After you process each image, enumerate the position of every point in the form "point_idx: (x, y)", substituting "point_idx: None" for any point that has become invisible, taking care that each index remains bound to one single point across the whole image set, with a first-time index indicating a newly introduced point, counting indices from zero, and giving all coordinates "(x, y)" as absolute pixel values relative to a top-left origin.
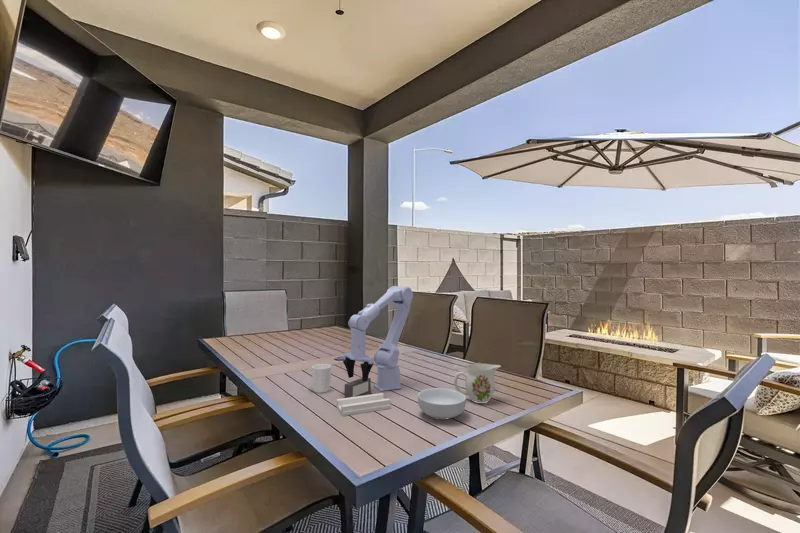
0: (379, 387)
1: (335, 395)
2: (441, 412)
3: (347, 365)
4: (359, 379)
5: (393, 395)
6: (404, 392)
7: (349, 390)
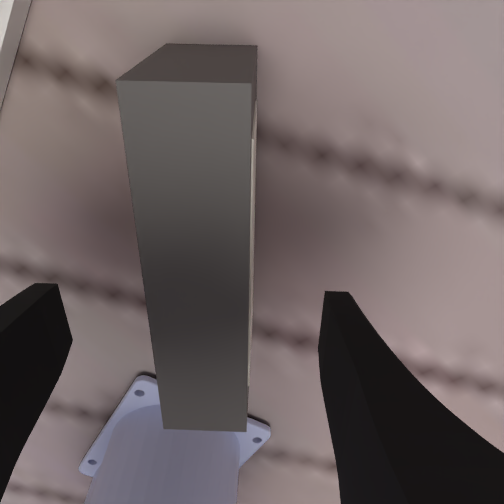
0: None
1: (428, 75)
2: None
3: (386, 445)
4: (233, 351)
5: None
6: None
7: (149, 64)
